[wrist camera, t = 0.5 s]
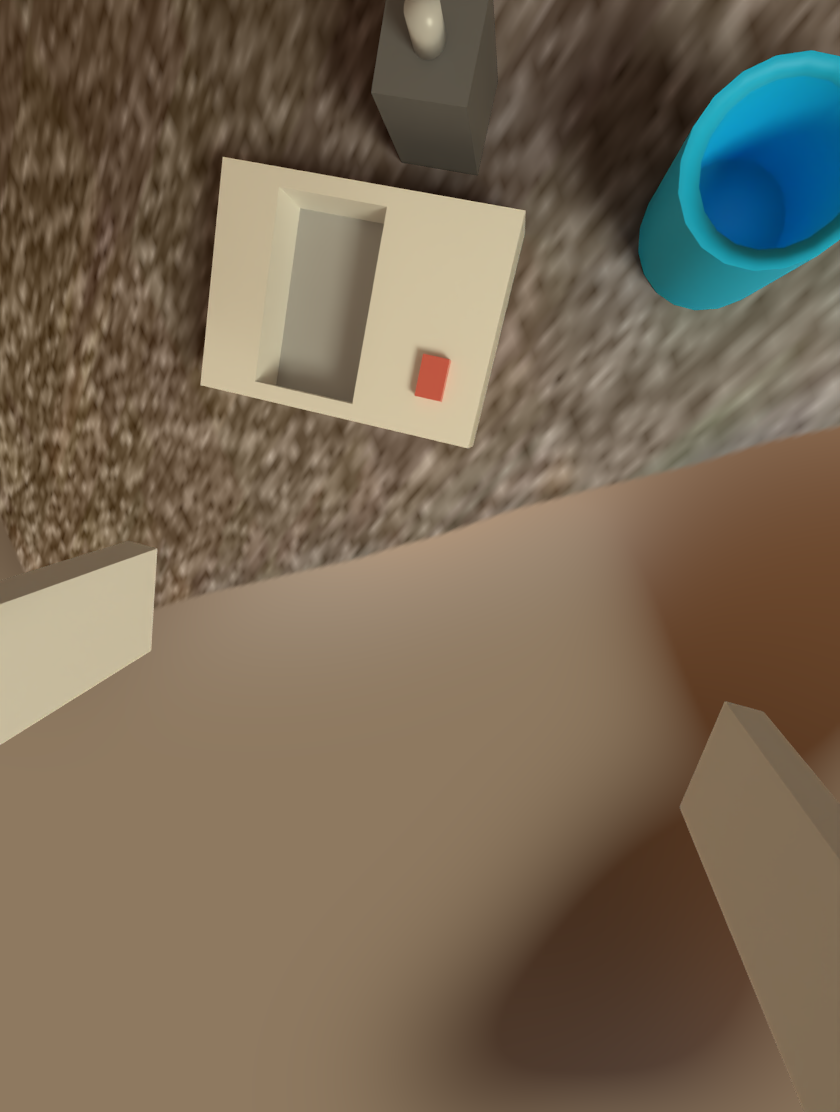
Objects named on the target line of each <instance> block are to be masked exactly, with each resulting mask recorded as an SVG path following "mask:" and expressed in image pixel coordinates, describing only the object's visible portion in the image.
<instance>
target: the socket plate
mask: <svg viewBox="0 0 840 1112" xmlns="http://www.w3.org/2000/svg"><path fill="white" fill-rule="evenodd" d="M524 235H525V210H519V209H514V208H508V207H502V206H497V205H491V204H486V203H480V202H474V201H469V200H463V199H457V198H452V197H446V196H441V195H435V194H429V193H424V192H418V191H412V190H407V189H401V188H396V187H390V186H384V185H379V184H373V183H367V182H362V181H356V180H351V179H345V178H339V177H334V176H328V175H323V174H317V173H311V172H306V171H300V170H294V169H289V168H283V167H278V166H272V165H266V164H261V163H255V162H249V161H244V160H238V159H233V158H227V157H223V160H222V170H221V180H220V190H219V201H218V211H217V221H216V231H215V242H214V252H213V262H212V273H211V283H210V293H209V303H208V314H207V324H206V334H205V344H204V355H203V365H202V375H201V385H203V386H207V387H211V388H215V389H220V390H224V391H228V392H232V393H237V394H241V395H245V396H249V397H253V398H258V399H262V400H266V401H270V402H275V403H279V404H283V405H287V406H292V407H296V408H300V409H304V410H308V411H313V412H317V413H321V414H325V415H330V416H334V417H338V418H342V419H347V420H351V421H355V422H359V423H364V424H368V425H372V426H376V427H380V428H385V429H389V430H393V431H397V432H402V433H406V434H410V435H414V436H419V437H423V438H427V439H431V440H436V441H440V442H444V443H448V444H452V445H457V446H461V447H465V448H470V447H472V446H473V444H474V440H475V436H476V432H477V428H478V424H479V420H480V415H481V411H482V407H483V403H484V399H485V395H486V391H487V387H488V383H489V378H490V374H491V370H492V366H493V362H494V358H495V354H496V350H497V346H498V341H499V337H500V333H501V329H502V325H503V321H504V317H505V313H506V309H507V304H508V300H509V296H510V292H511V288H512V284H513V280H514V276H515V272H516V267H517V263H518V259H519V255H520V251H521V247H522V243H523V239H524Z"/></svg>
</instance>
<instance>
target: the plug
mask: <svg viewBox="0 0 840 1112" xmlns="http://www.w3.org/2000/svg"><path fill="white" fill-rule="evenodd" d="M497 83H498V73H497V56H496V39H495V22H494V5H493V0H386V2H385V9H384V15H383V21H382V27H381V34H380V40H379V46H378V52H377V58H376V65H375V71H374V77H373V83H372V90H371V94H372V96H373V98H374V100H375V103H376V105H377V107H378V110H379V112H380V114H381V116H382V119H383V121H384V123H385V125H386V128H387V130H388V132H389V135H390V137H391V139H392V141H393V144H394V146H395V148H396V151H397V153H398V155H399V157H400V160H401V162H403V163H408V164H414V165H420V166H426V167H432V168H438V169H443V170H449V171H455V172H461V173H467V174H473V175H478V172H479V167H480V162H481V158H482V153H483V148H484V144H485V139H486V134H487V130H488V125H489V120H490V116H491V111H492V106H493V102H494V97H495V93H496V88H497Z"/></svg>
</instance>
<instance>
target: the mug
mask: <svg viewBox="0 0 840 1112" xmlns="http://www.w3.org/2000/svg"><path fill="white" fill-rule="evenodd" d="M838 240H840V56H836V55H831V54H827V53H822V52H817V51H812V50H810V51H803V52H796V53H789V54H783V55H776V56H774V57H772V58H770V59H768V60H766V61H764V62H762V63H760V64H758V65H755V66H753V67H751V68H749V69H747V70H745V71H743V72H742V73H741V74H739V75H738V76H737V77H736V78H735V79H734V80H733V81H731V82H730V83H729V84H728V85H727V86H726V87H724V88H723V89H722V90H721V91H720V92H719V93H718V94H716V95H715V96H714V97H713V99H712V100H711V102H710V103H709V105H708V106H707V108H706V109H705V110H704V112H703V113H702V115H701V116H700V118H699V119H698V120H697V122H696V123H695V125H694V126H693V128H692V130H691V131H690V133H689V135H688V136H687V138H686V140H685V142H684V143H683V145H682V147H681V149H680V150H679V152H678V154H677V156H676V157H675V159H674V161H673V162H672V164H671V166H670V168H669V169H668V171H667V173H666V175H665V176H664V178H663V180H662V181H661V183H660V185H659V187H658V188H657V190H656V192H655V194H654V195H653V197H652V199H651V201H650V202H649V204H648V207H647V209H646V212H645V215H644V218H643V221H642V223H641V226H640V233H639V249H638V253H639V257H640V261H641V265H642V269H643V273H644V275H645V277H646V278H647V280H648V281H649V283H650V284H651V285H652V287H653V288H654V290H655V291H656V293H658V294H659V295H661V296H662V297H664V298H665V299H666V300H668V301H669V302H671V303H672V304H674V305H677V306H681V307H685V308H689V309H692V310H704V309H718V308H721V307H724V306H726V305H729V304H731V303H734V302H737V301H739V300H742V299H743V298H745V297H747V296H749V295H750V294H752V293H754V292H756V291H757V290H759V289H761V288H763V287H764V286H766V285H768V284H770V283H771V282H773V281H775V280H776V279H778V278H780V277H782V276H783V275H785V274H787V273H789V272H790V271H792V270H794V269H796V268H797V267H799V266H801V265H802V264H804V263H806V262H808V261H809V260H811V259H813V258H815V257H816V256H818V255H819V254H821V253H822V252H823V251H825V250H826V249H827V248H829V247H830V246H832V245H833V244H834V243H836V242H837V241H838Z"/></svg>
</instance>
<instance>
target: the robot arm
mask: <svg viewBox="0 0 840 1112" xmlns="http://www.w3.org/2000/svg"><path fill="white" fill-rule="evenodd" d="M156 560H157V548H154V547H150V546H146V545H142V544H139V543H135V542H131V541H126V542H123V543H120V544H117V545H113V546H110V547H107V548H104V549H100V550H97V551H94V552H91V553H88V554H84V555H81V556H78V557H75V558H71V559H68V560H65V561H62V562H58V563H55V564H52V565H49V566H46V567H42V568H39V569H36V570H33V571H29V572H26V573H23V574H20V575H16V576H13V577H10V578H7V579H4V580H1V581H0V745H1V744H2V743H4V742H5V741H7V740H9V739H10V738H12V737H13V736H15V735H17V734H18V733H20V732H22V731H23V730H25V729H26V728H28V727H29V726H31V725H32V724H34V723H36V722H38V721H39V720H41V719H42V718H44V717H45V716H47V715H49V714H50V713H52V712H54V711H55V710H57V709H58V708H60V707H62V706H63V705H65V704H66V703H68V702H70V701H71V700H72V699H74V698H76V697H78V696H79V695H81V694H82V693H84V692H85V691H87V690H89V689H90V688H92V687H93V686H95V685H97V684H98V683H100V682H101V681H103V680H105V679H106V678H108V677H110V676H111V675H112V674H114V673H116V672H118V671H119V670H121V669H122V668H124V667H126V666H127V665H129V664H130V663H132V662H133V661H135V660H137V659H138V658H140V657H142V656H143V655H145V654H146V653H148V652H150V651H151V642H152V625H153V609H154V592H155V576H156ZM680 810H681V812H682V814H683V817H684V819H685V821H686V824H687V826H688V829H689V832H690V834H691V837H692V839H693V841H694V844H695V846H696V849H697V851H698V854H699V856H700V859H701V861H702V863H703V866H704V868H705V871H706V873H707V876H708V878H709V881H710V883H711V886H712V888H713V891H714V893H715V895H716V898H717V900H718V903H719V905H720V908H721V910H722V913H723V914H724V917H725V920H726V922H727V925H728V927H729V930H730V932H731V934H732V937H733V940H734V942H735V944H736V947H737V949H738V952H739V954H740V957H741V959H742V962H743V964H744V967H745V969H746V971H747V974H748V976H749V978H750V981H751V984H752V986H753V988H754V991H755V993H756V996H757V998H758V1001H759V1003H760V1006H761V1008H762V1011H763V1013H764V1016H765V1018H766V1020H767V1023H768V1025H769V1027H770V1030H771V1033H772V1035H773V1038H774V1040H775V1042H776V1045H777V1047H778V1050H779V1052H780V1055H781V1057H782V1060H783V1062H784V1065H785V1067H786V1069H787V1072H788V1074H789V1077H790V1079H791V1081H792V1084H793V1087H794V1089H795V1091H796V1094H797V1096H798V1099H799V1101H800V1103H801V1106H802V1108H803V1111H804V1112H840V804H839V802H838V801H837V800H836V799H835V798H834V796H833V795H832V794H831V793H830V791H829V790H828V789H827V788H826V787H825V785H824V784H823V783H822V782H821V781H820V779H819V778H818V777H817V776H816V775H815V774H814V772H813V771H812V770H811V768H810V767H809V766H808V765H807V764H806V762H805V761H804V760H803V759H802V758H801V757H800V756H799V754H798V753H797V752H796V750H795V749H794V748H793V747H792V746H791V744H790V743H789V742H788V741H787V740H786V738H785V737H784V736H783V735H782V734H781V732H780V731H779V730H778V729H777V728H776V726H775V725H774V724H773V723H772V721H771V720H770V719H769V718H768V717H767V716H766V714H765V713H764V712H763V711H759V710H756V709H752V708H748V707H745V706H741V705H737V704H733V703H730V702H726V701H725V703H724V705H723V707H722V709H721V712H720V714H719V716H718V719H717V721H716V723H715V726H714V728H713V730H712V733H711V735H710V737H709V740H708V742H707V744H706V747H705V749H704V751H703V754H702V756H701V758H700V761H699V763H698V766H697V768H696V770H695V772H694V775H693V777H692V779H691V782H690V784H689V786H688V789H687V791H686V793H685V795H684V798H683V800H682V802H681V805H680Z"/></svg>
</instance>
